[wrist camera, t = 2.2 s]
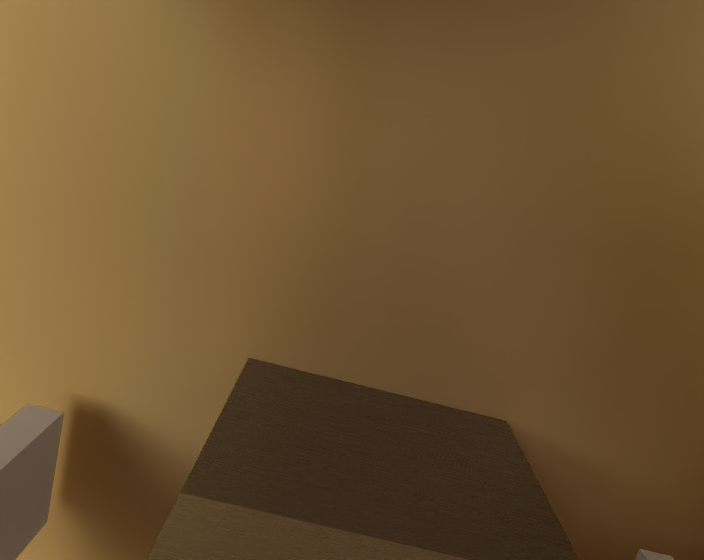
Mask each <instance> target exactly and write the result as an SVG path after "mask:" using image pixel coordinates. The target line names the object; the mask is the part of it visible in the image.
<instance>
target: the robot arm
mask: <svg viewBox="0 0 704 560" xmlns="http://www.w3.org/2000/svg"><path fill="white" fill-rule="evenodd" d="M63 415H64V412H61V411H57V410H52V409H48V408H44V407H40V406H35V405H31V404H27V405H26V406H25V407H24V408H22V409H21V410H20V411H18V412H17V413H16V414H15V415H13V416H12V417H11V418H10V419H8V420H7V421H6V422H5V423H3V424H2V425H1V426H0V560H15V559H16V558H17V557H18V556H19V555H20V553H21V552H22V551H23V550H24V549H25V547H26V546H27V545H28V544H29V542H30V541H31V540H32V539H33V538H34V536H35V535H36V534H37V533H38V532H39V530H40V529H41V528H42V527H43V526H44V524H45V523H46V522H47V519H48V512H49V506H50V499H51V493H52V486H53V480H54V473H55V467H56V460H57V454H58V447H59V441H60V434H61V428H62V421H63ZM635 560H674V559H673V557H672V556H669V555H664V554H660V553H656V552H652V551H647V550H643V549H639V551H638V553H637V556H636V558H635Z"/></svg>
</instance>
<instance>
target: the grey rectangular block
mask: <svg viewBox="0 0 704 560" xmlns="http://www.w3.org/2000/svg"><path fill="white" fill-rule="evenodd" d="M146 560H579V559H578V557H577V555H576V553H575V551H574V549H573V547H572V545H571V543H570V542H569V540H568V538H567V536H566V534H565V532H564V530H563V528H562V526H561V525H560V523H559V521H558V519H557V517H556V515H555V513H554V511H553V509H552V507H551V506H550V504H549V502H548V500H547V498H546V496H545V494H544V492H543V490H542V489H541V487H540V485H539V483H538V481H537V479H536V477H535V475H534V473H533V471H532V470H531V468H530V466H529V464H528V462H527V460H526V458H525V456H524V454H523V453H522V451H521V449H520V447H519V445H518V443H517V441H516V439H515V437H514V436H513V434H512V432H511V430H510V428H509V426H508V424H507V422H506V421H502V420H498V419H494V418H490V417H486V416H482V415H478V414H474V413H470V412H465V411H461V410H457V409H453V408H449V407H445V406H441V405H437V404H433V403H429V402H425V401H421V400H417V399H413V398H408V397H404V396H400V395H396V394H392V393H388V392H384V391H380V390H376V389H372V388H368V387H364V386H360V385H355V384H351V383H347V382H343V381H339V380H335V379H331V378H327V377H323V376H319V375H315V374H311V373H307V372H303V371H298V370H294V369H290V368H286V367H282V366H278V365H274V364H270V363H266V362H262V361H258V360H254V359H250V358H248V360H247V362H246V364H245V366H244V368H243V370H242V372H241V374H240V376H239V378H238V380H237V382H236V384H235V386H234V388H233V390H232V392H231V394H230V396H229V398H228V400H227V402H226V404H225V406H224V408H223V410H222V412H221V414H220V416H219V417H218V419H217V421H216V423H215V425H214V427H213V429H212V431H211V433H210V435H209V437H208V439H207V441H206V443H205V445H204V447H203V449H202V451H201V453H200V455H199V457H198V459H197V461H196V463H195V465H194V467H193V469H192V471H191V473H190V475H189V477H188V479H187V481H186V483H185V485H184V486H183V488H182V490H181V492H180V494H179V496H178V498H177V500H176V502H175V504H174V506H173V508H172V510H171V512H170V514H169V516H168V518H167V520H166V522H165V524H164V526H163V528H162V530H161V532H160V534H159V536H158V538H157V540H156V542H155V544H154V546H153V548H152V550H151V552H150V553H149V555H148V557H147V559H146Z"/></svg>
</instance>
